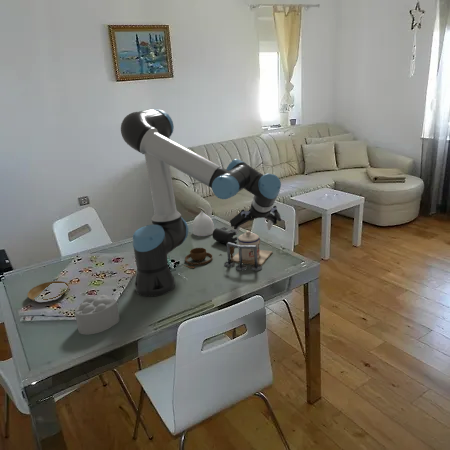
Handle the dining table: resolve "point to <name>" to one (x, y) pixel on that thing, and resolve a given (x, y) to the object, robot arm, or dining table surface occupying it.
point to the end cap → (224, 235)
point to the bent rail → (241, 267)
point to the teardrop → (203, 225)
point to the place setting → (201, 256)
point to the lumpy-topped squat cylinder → (96, 314)
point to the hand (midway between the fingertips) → (252, 229)
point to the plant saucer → (38, 289)
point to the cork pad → (261, 260)
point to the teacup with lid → (249, 240)
